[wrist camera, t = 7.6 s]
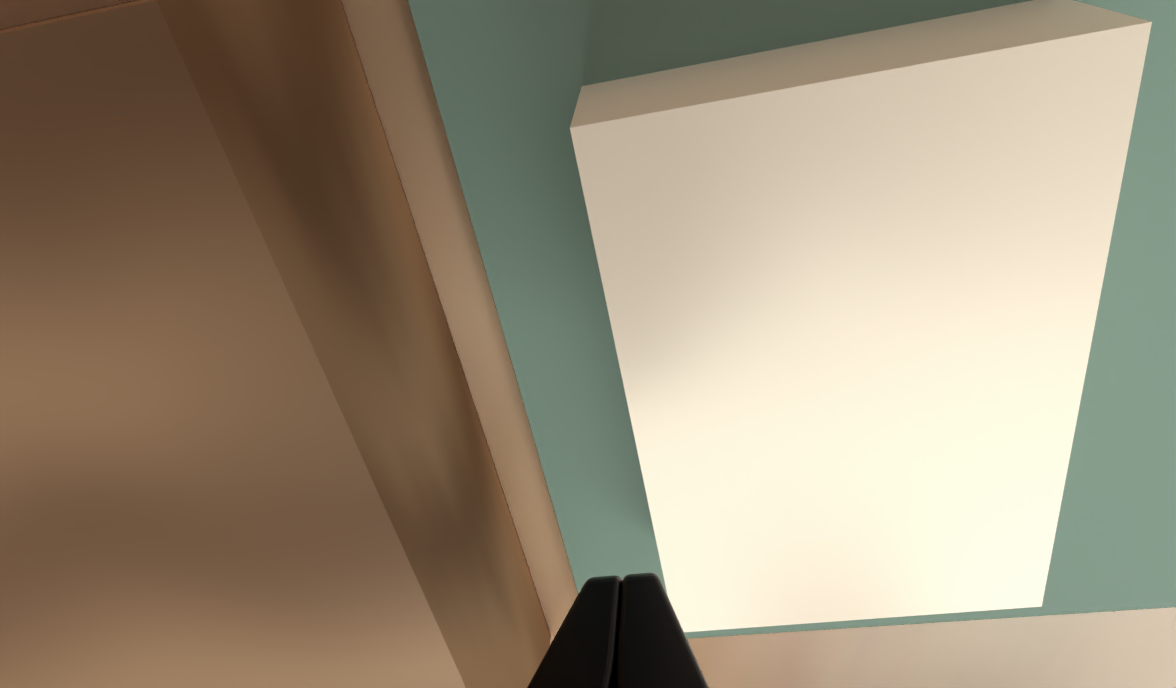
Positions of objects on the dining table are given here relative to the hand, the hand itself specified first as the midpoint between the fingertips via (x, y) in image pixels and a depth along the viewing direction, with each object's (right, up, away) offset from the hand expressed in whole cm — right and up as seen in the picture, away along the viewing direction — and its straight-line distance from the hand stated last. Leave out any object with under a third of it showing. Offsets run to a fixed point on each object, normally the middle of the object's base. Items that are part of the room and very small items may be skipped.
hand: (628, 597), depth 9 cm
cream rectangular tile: (+3, +2, +1) cm, 4 cm away
